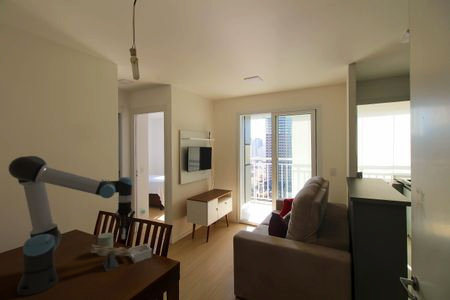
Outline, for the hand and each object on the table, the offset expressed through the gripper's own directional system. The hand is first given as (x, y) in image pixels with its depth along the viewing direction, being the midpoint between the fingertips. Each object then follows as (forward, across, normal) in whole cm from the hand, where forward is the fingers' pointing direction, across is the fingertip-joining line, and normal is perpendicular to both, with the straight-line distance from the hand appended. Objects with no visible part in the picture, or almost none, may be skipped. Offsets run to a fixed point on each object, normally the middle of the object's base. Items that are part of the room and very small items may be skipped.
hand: (123, 238), depth 136 cm
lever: (+5, -9, -4) cm, 11 cm away
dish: (+11, +9, -7) cm, 16 cm away
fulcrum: (+12, -8, -7) cm, 16 cm away
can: (+12, -7, +13) cm, 19 cm away
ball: (+10, +9, -7) cm, 15 cm away
